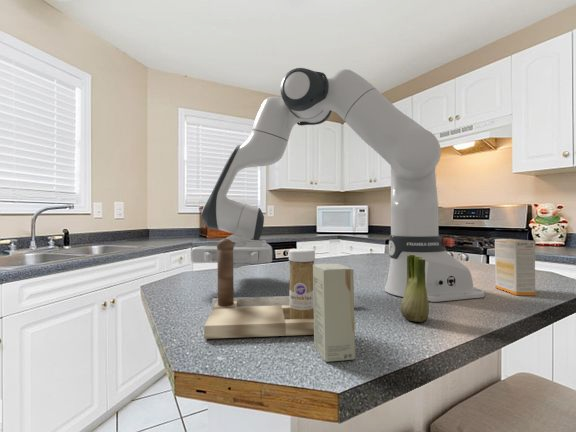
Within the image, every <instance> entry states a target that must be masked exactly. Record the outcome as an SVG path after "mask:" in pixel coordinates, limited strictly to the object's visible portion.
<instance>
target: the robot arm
mask: <svg viewBox="0 0 576 432" xmlns="http://www.w3.org/2000/svg"><path fill="white" fill-rule="evenodd" d="M280 96H281V97H280ZM280 96H276V95H275V96H268V97H267V98H265V99H264V100H263V101H262V103H261V105H260V107H259V109H258V111H257V113H256V115H255V119H254V121H253V125H252V128H251V130H250V134H249V135H248V138H247V139H246V140H245V142H243V143H242V144H238V145H236V146H235V148H233V150H232V152H231V153H230V155H229V157H228V159H227V160H226V163H225V165H224V166H223V169H222V171H221V173H220V175H219V176H218V179H217V180H216V181H217V182H216V184H215V185H214V188H213V189H212V191H211V194H210V195H209V197H208V198H207V200H206V202H205V203H204V205H203V207H202V210H201V216H200V218H201V220H202V222H203V224H204V225H205V226H206V227H207V228H208V229H210V230H211V229H212V230H216V231H222V232H226V233H230V234H231V235H229V236H227V237H226V238H225V239H229V240H231V241H232V242H233V245H234V249H233V269H238V268H243V267H247V266H250V265H262V264H266V263H267V264H269V263H272V262H273V247H272V245H270V244H269V243H267V240H265V239H260V238H261V235H262V232H263V228H264V222H265V216H264V213H263V212H262V210H261V208H260V207H257V206H254V205H250V204H248V203H242V202H240V201H236V200H233V199H229V198H228V197H227V195H228V192H229V190H230V188H231V186H232V184H233V182H234V180H235V179H236V176H237V175H238V173H239V172H240V171H242V170H244V169H246V168H254V167H255V168H256V167H257V168H258V167H265V166H267V167H268V166H272V165H274V164H276V163H277V162H279V161H280V160H281V159H282V158H283V155H284V153H285V151H286V149H287V147H288V142H289V139H290V136H291V132H292V130H293V127H294V126H295V125H296V124H297V125H298V126H316V125H320V124H323V123H326V121H328V119H329V118H330V117H331V114H332V112H334V113H335V114H337V115H338V116H339V117H340V118H341V119H342V120H343V121H344V122H345V123H346V124H347V125H348V126H349V127H350V128H351V129H352V130H353V131H354V132H355V134H357V136H359V138H360V139H361V140H363V141H364V142H365V144H367V145H368V146H369V147H370V148H372V149H373V150H374V152H376V153H377V154H378V155H379V156H380V157H381V158H383V159H384V160H385V161H386V162H387V164H389V166H390V235H388V236H389V237H388V255H389V258H390V259H389V267H388V268H389V269H388V275H387V279H386V283H385V285H384V286H385V287H384V291H385V292H386V293H388V294H391V295H394V296H397V297H402V298H403V297H404V293H405V289H406V283H407V255H415V256H417V257H422V259H425V283H426V292H427V297H428V302H432V303H437V302H439V303H440V302H446V301H447V302H448V301H458V300H469V299H478V298H484V297H485V293H484V292H485V291H483V290H482V289H480V288H478V287H475V286H474V282H473V277H472V273H471V271H470V269H469V268H468V267H467V265H464V264H463V263H462V262H461V261H460V260H458V259H457V258H455V257H454V256H452V255H451V254H450V253H449V252H447V249H446V247H449V248H450V247H451V248H452V247H454V245H456V244H455V243H456V242H455V240H454V238H452V237H451V238H450V237H445V238H443V237H442V236H441V235H439V200H438V191H437V179H436V177H437V175H436V173H437V172H436V167H437V166H438V164H439V162H440V160H441V155H442V149H441V145H440V142H439V140H438V138H437V137H436V135H435V134H433V133H432V132H431V131H429V130H427V129H425V128H424V127H423V126H422V125H421V124H419V123H418V122H417V121H415V120H414V119H413V118H411V117H410V116H409V115H406V114H405V113H403V112H402V111H401V110H400V109H398V108H397V107H396V106H395V105H394V104H393V103H392V102H391V101H390V100H389V99H388V98H387V97H386V96H384V94H383V93H381V92H380V91H379V90H378V89H377V88H376V87H375V86H374V85H373V84H372V83H370V82H369V81H368V80H367V79H365V78H364V77H363V76H362V75H360V74H358V73H356V72H355V71H353V70H351V69H349V68H348V69H340V70H338V71H337V72H335V73H334V74H333V75H332V76H330V77H329V78H328V76H327V74H325V73H324V72H321V71H315V70H312V69H309V68H305V67H296V68H292V69H291V70H289V71H288V72H287V73H286V74H285V75H284V76H283V78H282V80H281V84H280ZM190 261H191V263H195V264H218V253H217V245H200V246H196V247H193V248H191V251H190Z"/></svg>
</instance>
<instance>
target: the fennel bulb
mask: <svg viewBox="0 0 576 432" xmlns="http://www.w3.org/2000/svg"><path fill="white" fill-rule="evenodd" d="M399 306H400V307H399V308H400V312H401V315H402V316H403V317H404V318H405V319H406V320H408V321H409V322H417V323H418V322H419V323H423V322H425V321H426V320H428V318H429V315H430V314H429V312H430V306H429V301H428V297H427V292H426V283H425V259H422V257H417V256H415V255H407V283H406V289H405V293H404V297H402V299H401V303H400V305H399Z"/></svg>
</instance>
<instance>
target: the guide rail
mask: <svg viewBox="0 0 576 432" xmlns="http://www.w3.org/2000/svg"><path fill="white" fill-rule="evenodd" d="M234 301H237V307H245V306H277V305H290V303H289V295H284V296H282V295H281V296H280V295H279V296H276V295H275V296H250V297H249V296H248V297H243V296H242V297H234ZM216 302H218V297H217V298H215V297H213V298H212V299H211V311H212V310H213V308H214V306H215V304H216ZM358 308H359V295H358V294H356V293H354V309H358Z"/></svg>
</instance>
